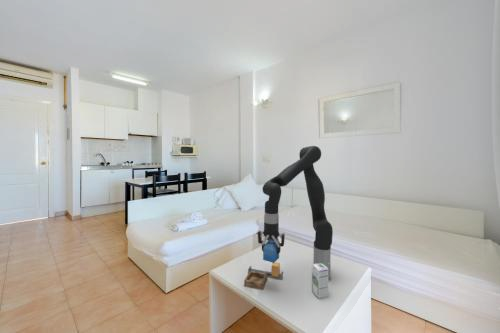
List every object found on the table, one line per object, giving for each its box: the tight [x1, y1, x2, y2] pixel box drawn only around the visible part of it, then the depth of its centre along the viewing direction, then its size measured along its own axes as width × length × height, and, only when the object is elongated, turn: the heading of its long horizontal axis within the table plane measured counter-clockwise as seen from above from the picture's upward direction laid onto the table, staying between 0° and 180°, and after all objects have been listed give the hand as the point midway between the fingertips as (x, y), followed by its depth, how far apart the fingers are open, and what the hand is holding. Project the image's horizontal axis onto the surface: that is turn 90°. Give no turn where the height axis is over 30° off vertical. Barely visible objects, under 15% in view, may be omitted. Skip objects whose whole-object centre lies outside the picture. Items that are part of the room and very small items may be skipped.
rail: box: [247, 265, 284, 281], centre depth 121 cm, size 20×4×2 cm, turn 72°
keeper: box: [243, 271, 268, 291], centre depth 113 cm, size 10×10×3 cm
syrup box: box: [311, 263, 329, 299], centre depth 104 cm, size 6×6×14 cm
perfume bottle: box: [262, 237, 280, 263], centre depth 108 cm, size 6×6×12 cm
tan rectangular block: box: [265, 261, 281, 277], centre depth 120 cm, size 8×4×6 cm, turn 72°
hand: (270, 252), depth 108 cm, fingers closed on perfume bottle, 7 cm apart
